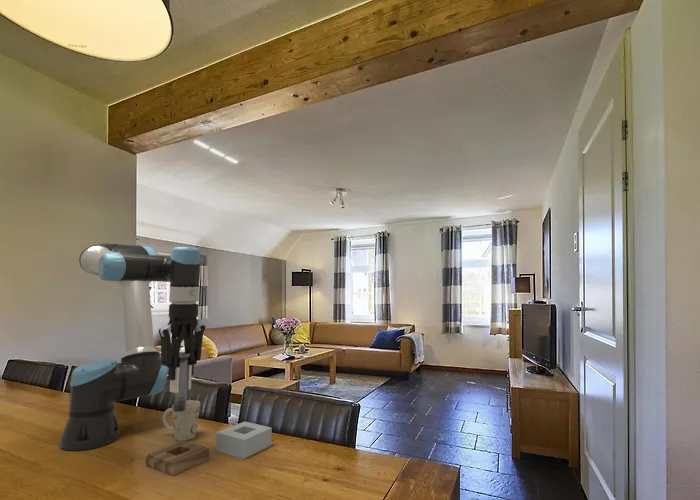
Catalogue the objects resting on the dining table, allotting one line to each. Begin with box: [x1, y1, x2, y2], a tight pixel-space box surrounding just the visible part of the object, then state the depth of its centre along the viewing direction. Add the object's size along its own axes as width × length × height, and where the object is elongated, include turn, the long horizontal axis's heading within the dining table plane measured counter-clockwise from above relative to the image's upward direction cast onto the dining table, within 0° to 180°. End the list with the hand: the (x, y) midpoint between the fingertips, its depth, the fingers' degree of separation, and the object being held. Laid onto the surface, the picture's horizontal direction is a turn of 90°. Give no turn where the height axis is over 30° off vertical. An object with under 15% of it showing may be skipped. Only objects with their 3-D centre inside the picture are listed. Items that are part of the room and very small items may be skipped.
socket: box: [215, 421, 273, 460], centre depth 116 cm, size 11×11×5 cm
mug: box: [162, 399, 201, 442], centre depth 125 cm, size 8×13×10 cm, turn 78°
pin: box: [172, 351, 190, 412], centre depth 108 cm, size 4×4×15 cm
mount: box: [145, 440, 210, 477], centre depth 106 cm, size 11×11×3 cm
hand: (180, 390), depth 108 cm, fingers closed on pin, 3 cm apart
